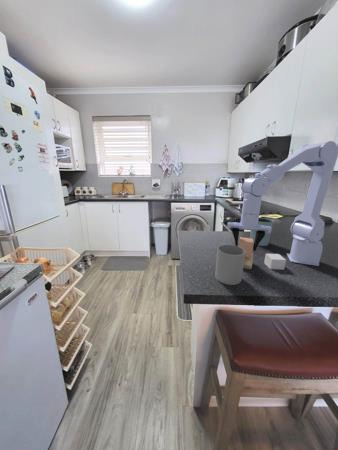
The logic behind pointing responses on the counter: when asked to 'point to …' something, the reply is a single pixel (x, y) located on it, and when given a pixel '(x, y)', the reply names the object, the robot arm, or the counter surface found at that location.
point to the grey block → (275, 261)
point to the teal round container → (267, 235)
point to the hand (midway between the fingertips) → (245, 248)
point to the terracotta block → (246, 246)
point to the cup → (229, 264)
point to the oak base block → (248, 262)
